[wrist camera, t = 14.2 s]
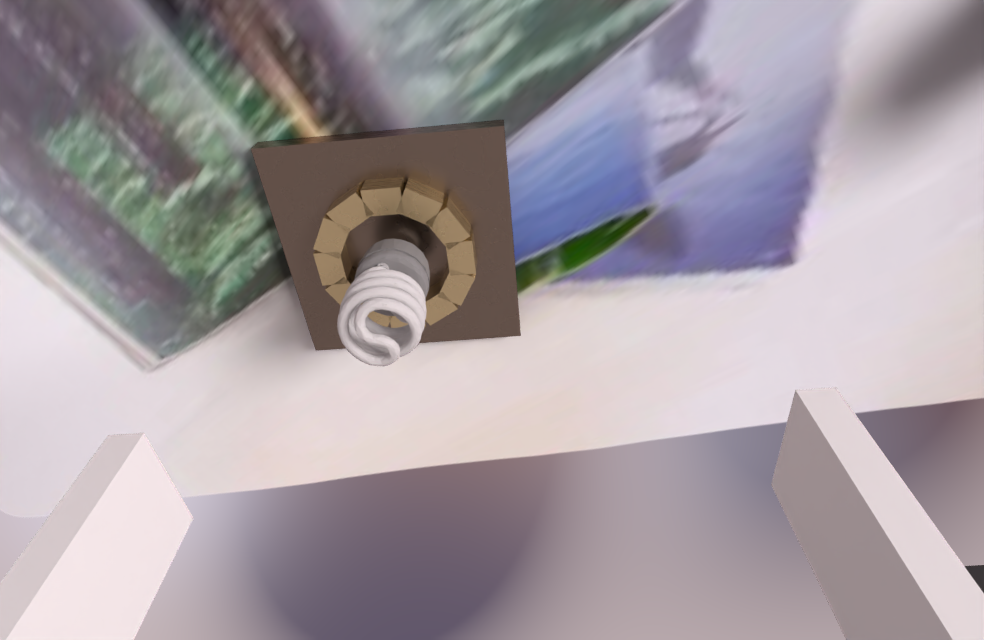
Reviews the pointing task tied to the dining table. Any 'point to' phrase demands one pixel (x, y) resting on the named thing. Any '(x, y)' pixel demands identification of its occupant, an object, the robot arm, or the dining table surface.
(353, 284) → the light bulb
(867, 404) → the dining table surface
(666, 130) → the dining table surface
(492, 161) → the lamp base
